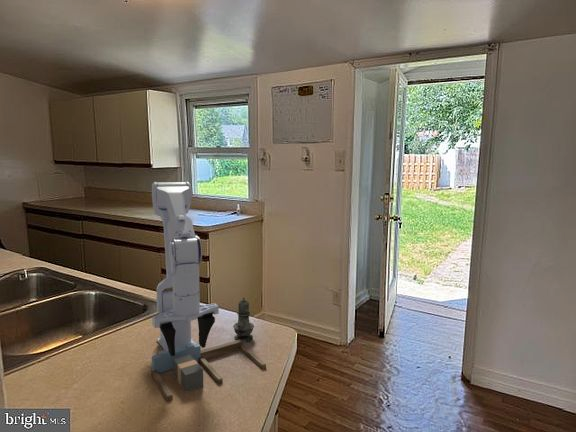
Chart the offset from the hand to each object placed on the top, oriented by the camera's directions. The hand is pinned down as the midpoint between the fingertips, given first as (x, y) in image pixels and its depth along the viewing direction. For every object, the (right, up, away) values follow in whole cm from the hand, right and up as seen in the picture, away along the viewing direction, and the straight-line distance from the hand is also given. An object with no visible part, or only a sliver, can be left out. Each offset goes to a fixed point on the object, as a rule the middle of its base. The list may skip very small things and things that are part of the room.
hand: (187, 349), depth 88 cm
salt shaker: (+10, -5, +23) cm, 25 cm away
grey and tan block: (0, -7, +1) cm, 7 cm away
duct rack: (+4, -7, +6) cm, 10 cm away
